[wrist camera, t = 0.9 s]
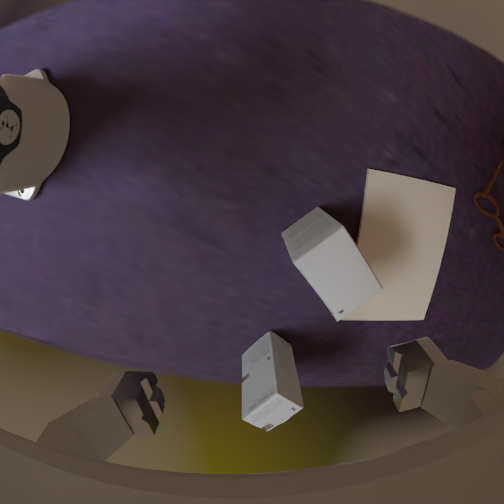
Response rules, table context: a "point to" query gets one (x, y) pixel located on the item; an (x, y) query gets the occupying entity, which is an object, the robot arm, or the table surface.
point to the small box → (331, 262)
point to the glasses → (486, 195)
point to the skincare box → (269, 383)
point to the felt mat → (402, 243)
